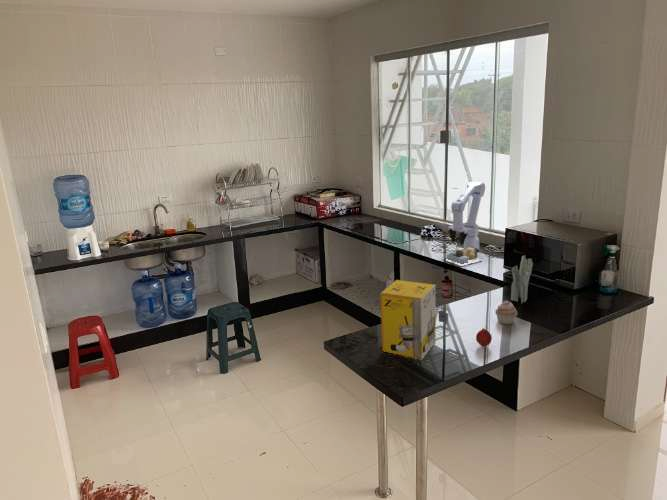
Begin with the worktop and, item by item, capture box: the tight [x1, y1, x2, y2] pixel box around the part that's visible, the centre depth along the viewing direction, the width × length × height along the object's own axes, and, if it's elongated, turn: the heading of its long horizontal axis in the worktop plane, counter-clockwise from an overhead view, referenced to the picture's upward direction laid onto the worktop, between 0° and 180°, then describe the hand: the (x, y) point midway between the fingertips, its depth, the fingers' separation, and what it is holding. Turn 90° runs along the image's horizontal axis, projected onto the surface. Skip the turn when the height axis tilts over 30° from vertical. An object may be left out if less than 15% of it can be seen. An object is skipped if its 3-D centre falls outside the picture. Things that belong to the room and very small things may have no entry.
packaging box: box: [379, 279, 437, 360], centre depth 195 cm, size 16×16×25 cm
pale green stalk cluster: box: [510, 255, 534, 304], centre depth 236 cm, size 28×7×20 cm, turn 148°
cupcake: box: [495, 300, 518, 326], centre depth 214 cm, size 9×9×10 cm
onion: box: [475, 327, 493, 348], centre depth 195 cm, size 6×6×8 cm
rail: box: [455, 247, 478, 260], centre depth 300 cm, size 13×4×6 cm, turn 118°
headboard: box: [446, 252, 482, 264], centre depth 299 cm, size 16×14×4 cm
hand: (457, 242), depth 306 cm, fingers open, 7 cm apart
